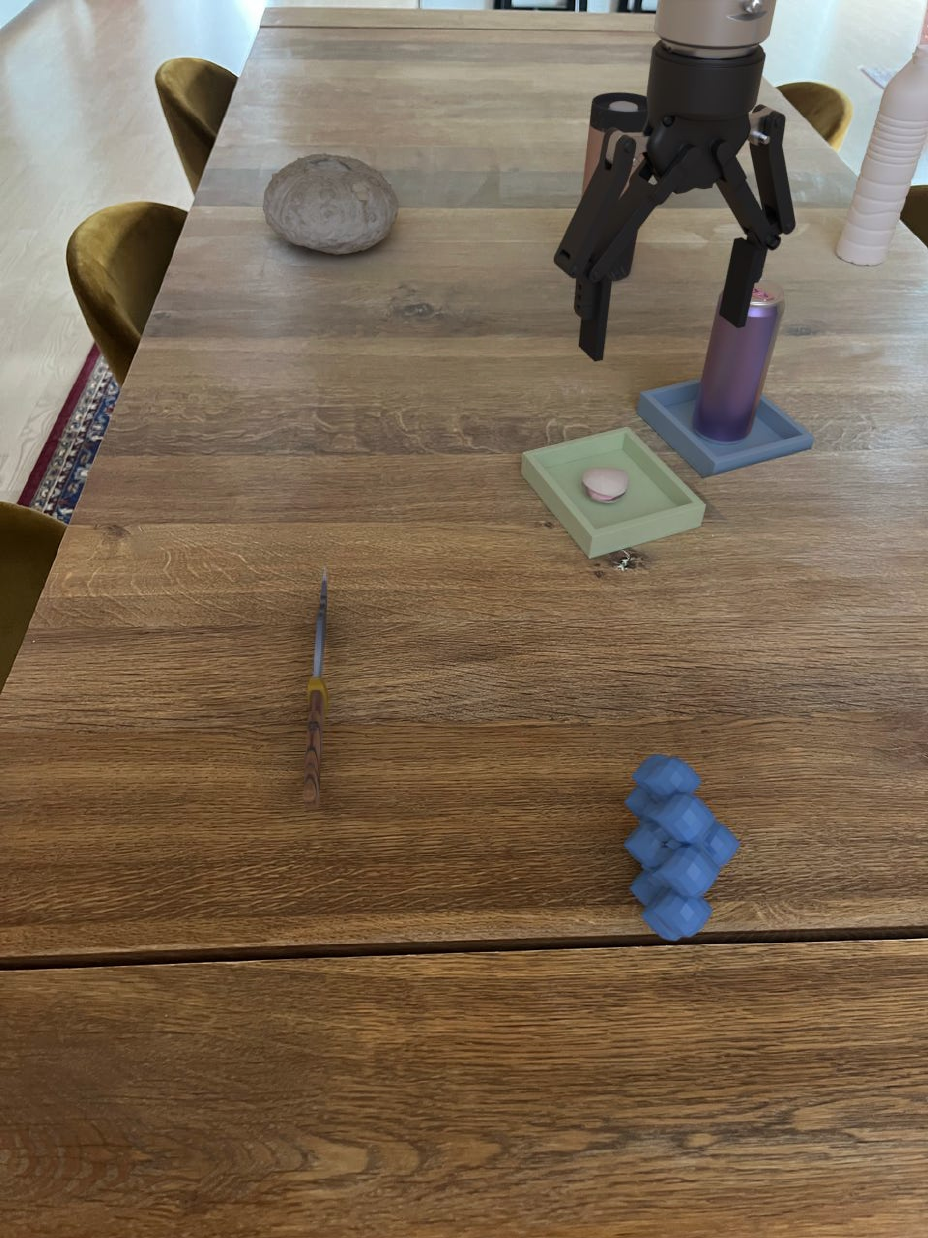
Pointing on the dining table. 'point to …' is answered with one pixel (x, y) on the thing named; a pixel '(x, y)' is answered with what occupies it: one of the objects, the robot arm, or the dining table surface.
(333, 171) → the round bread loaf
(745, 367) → the beverage can
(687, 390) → the tray
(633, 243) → the travel mug
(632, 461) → the snack tray
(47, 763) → the dining table surface
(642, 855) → the grapes
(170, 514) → the dining table surface
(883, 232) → the water bottle
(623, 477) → the macaroon
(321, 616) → the knife
